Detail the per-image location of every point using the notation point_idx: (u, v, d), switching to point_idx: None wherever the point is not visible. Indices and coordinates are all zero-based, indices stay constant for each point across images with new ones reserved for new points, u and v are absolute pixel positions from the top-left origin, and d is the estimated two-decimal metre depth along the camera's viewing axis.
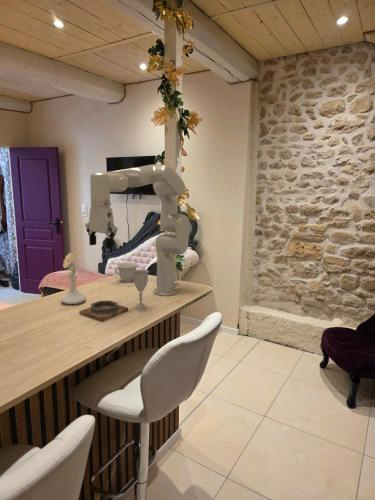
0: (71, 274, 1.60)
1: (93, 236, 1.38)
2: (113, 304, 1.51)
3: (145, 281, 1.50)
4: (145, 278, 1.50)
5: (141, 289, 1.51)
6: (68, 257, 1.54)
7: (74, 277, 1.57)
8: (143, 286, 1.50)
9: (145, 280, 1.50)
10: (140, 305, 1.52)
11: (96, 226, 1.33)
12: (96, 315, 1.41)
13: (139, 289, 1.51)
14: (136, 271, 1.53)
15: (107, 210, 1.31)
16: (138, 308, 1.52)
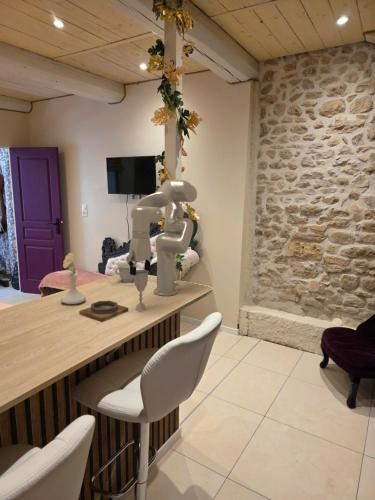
0: (71, 274, 1.60)
1: None
2: (113, 304, 1.51)
3: (145, 281, 1.50)
4: (145, 278, 1.50)
5: (141, 289, 1.51)
6: (68, 257, 1.54)
7: (74, 277, 1.57)
8: (143, 286, 1.50)
9: (145, 280, 1.50)
10: (140, 305, 1.52)
11: (144, 255, 1.48)
12: (96, 315, 1.41)
13: (139, 289, 1.51)
14: (136, 271, 1.53)
15: None
16: (138, 308, 1.52)
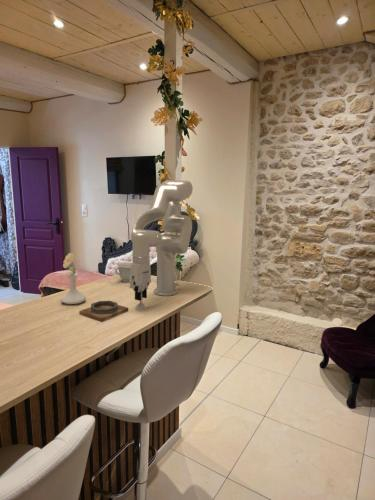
0: (71, 274, 1.60)
1: None
2: (113, 304, 1.51)
3: (145, 281, 1.50)
4: (145, 278, 1.50)
5: (141, 289, 1.51)
6: (68, 257, 1.54)
7: (74, 277, 1.57)
8: (143, 286, 1.50)
9: (145, 280, 1.50)
10: (140, 305, 1.52)
11: None
12: (96, 315, 1.41)
13: None
14: None
15: None
16: (138, 308, 1.52)
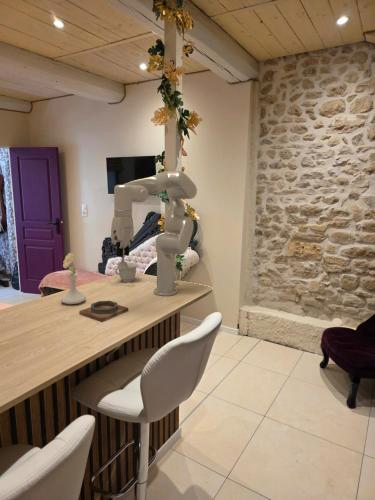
0: (71, 274, 1.60)
1: None
2: (113, 304, 1.51)
3: (127, 236, 1.43)
4: (127, 233, 1.43)
5: (123, 245, 1.44)
6: (68, 257, 1.54)
7: (74, 277, 1.57)
8: (125, 242, 1.44)
9: (127, 235, 1.43)
10: (122, 262, 1.46)
11: None
12: (96, 315, 1.41)
13: None
14: None
15: None
16: (120, 265, 1.45)
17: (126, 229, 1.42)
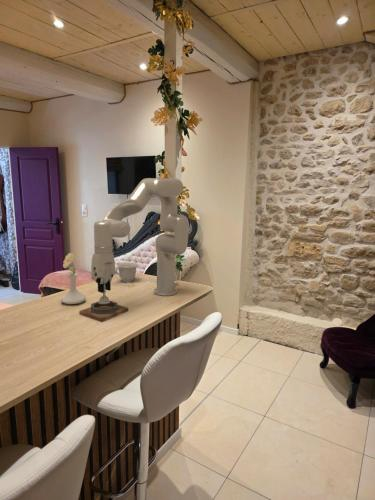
0: (71, 274, 1.60)
1: None
2: (113, 304, 1.51)
3: (108, 272, 1.44)
4: (108, 269, 1.43)
5: (104, 281, 1.44)
6: (68, 257, 1.54)
7: (74, 277, 1.57)
8: (106, 278, 1.44)
9: (108, 271, 1.43)
10: (103, 298, 1.46)
11: None
12: (96, 315, 1.41)
13: None
14: None
15: None
16: (101, 301, 1.46)
17: (106, 265, 1.42)
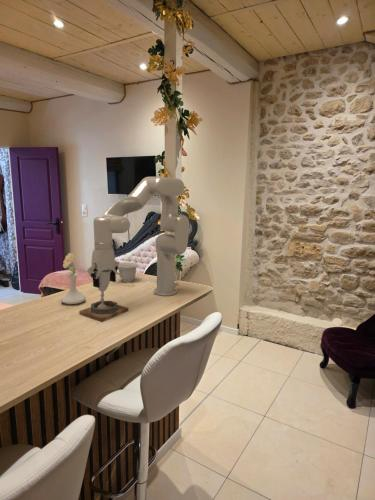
0: (71, 274, 1.60)
1: None
2: (113, 304, 1.51)
3: (106, 280, 1.43)
4: (107, 277, 1.43)
5: (102, 289, 1.44)
6: (68, 257, 1.54)
7: (74, 277, 1.57)
8: (104, 286, 1.44)
9: (107, 279, 1.43)
10: (101, 306, 1.46)
11: (108, 266, 1.44)
12: (96, 315, 1.41)
13: (100, 289, 1.44)
14: None
15: None
16: None
17: (105, 273, 1.42)
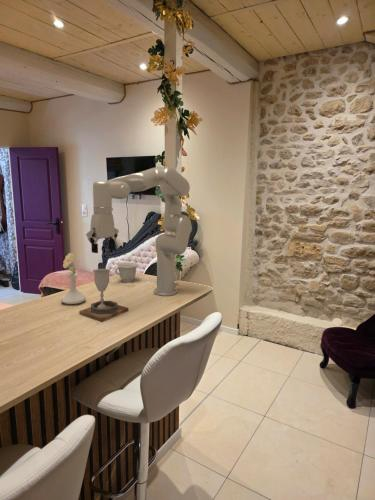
0: (71, 274, 1.60)
1: None
2: (113, 304, 1.51)
3: (106, 281, 1.43)
4: (106, 277, 1.43)
5: (102, 289, 1.44)
6: (68, 257, 1.54)
7: (74, 277, 1.57)
8: (104, 286, 1.43)
9: (106, 280, 1.43)
10: (101, 306, 1.45)
11: (107, 232, 1.41)
12: (96, 315, 1.41)
13: (99, 289, 1.44)
14: (97, 270, 1.46)
15: None
16: None
17: (104, 274, 1.42)
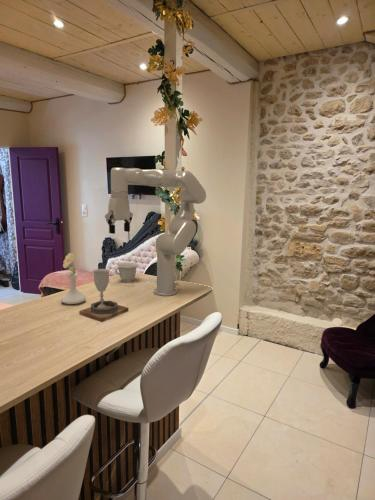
0: (71, 274, 1.60)
1: None
2: (113, 304, 1.51)
3: (105, 281, 1.43)
4: (105, 278, 1.42)
5: (101, 289, 1.44)
6: (68, 257, 1.54)
7: (74, 277, 1.57)
8: (103, 286, 1.43)
9: (105, 280, 1.43)
10: (101, 306, 1.45)
11: (123, 214, 1.53)
12: (96, 315, 1.41)
13: (99, 289, 1.44)
14: (97, 270, 1.46)
15: None
16: None
17: (104, 274, 1.41)
